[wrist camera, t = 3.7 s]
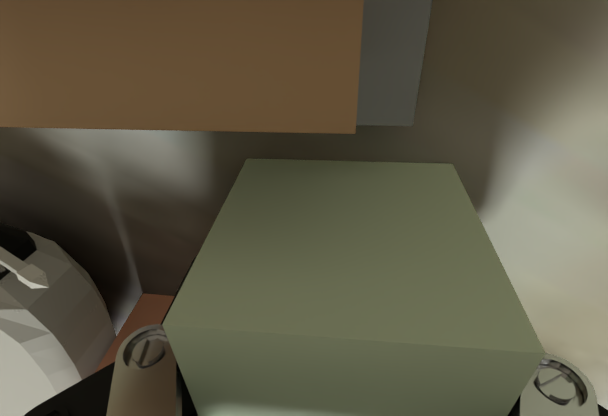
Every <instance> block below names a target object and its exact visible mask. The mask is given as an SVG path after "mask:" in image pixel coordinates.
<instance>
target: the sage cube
mask: <svg viewBox="0 0 608 416" xmlns="http://www.w3.org/2000/svg"><path fill="white" fill-rule="evenodd" d="M162 326H163V328H164V331H165V333H166V336H167V338H168V341H169V343H170V346H171V348H172V351H173V353H174V356H175V358H176V361H177V363H178V366H179V368H180V371H181V373H182V376H183V378H184V381H185V383H186V386H187V388H188V391H189V393H190V396H191V398H192V401H193V403H194V406H195V408H196V411H197V413H198V416H508V414H509V412H510V411H511V409H512V407H513V406H514V404H515V403H516V401H517V399H518V398H519V396H520V394H521V393H522V391H523V390H524V388H525V386H526V385H527V383H528V381H529V380H530V378H531V376H532V375H533V373H534V372H535V370H536V368H537V367H538V365H539V363H540V362H541V360H542V359H543V357H544V355H545V354H546V353H545V351H544V349H543V347H542V345H541V343H540V341H539V339H538V337H537V335H536V333H535V331H534V329H533V327H532V325H531V323H530V321H529V319H528V317H527V315H526V313H525V310H524V308H523V306H522V304H521V302H520V300H519V298H518V296H517V294H516V292H515V290H514V288H513V286H512V284H511V282H510V280H509V278H508V276H507V274H506V272H505V270H504V268H503V266H502V264H501V262H500V259H499V257H498V255H497V253H496V251H495V249H494V247H493V245H492V243H491V241H490V239H489V237H488V235H487V233H486V231H485V229H484V227H483V225H482V223H481V221H480V219H479V217H478V215H477V213H476V210H475V208H474V206H473V204H472V202H471V200H470V198H469V196H468V194H467V192H466V190H465V188H464V186H463V184H462V182H461V180H460V178H459V176H458V174H457V172H456V170H455V168H454V166H453V164H443V163H404V162H365V161H326V160H287V159H249V158H247V159H246V161H245V163H244V165H243V167H242V169H241V171H240V173H239V175H238V177H237V179H236V181H235V183H234V185H233V186H232V188H231V190H230V192H229V194H228V196H227V198H226V200H225V202H224V204H223V206H222V208H221V210H220V212H219V214H218V216H217V218H216V220H215V222H214V224H213V226H212V228H211V230H210V232H209V234H208V236H207V238H206V240H205V242H204V243H203V245H202V247H201V249H200V251H199V253H198V255H197V257H196V259H195V261H194V263H193V265H192V267H191V269H190V271H189V273H188V275H187V277H186V279H185V281H184V283H183V285H182V287H181V289H180V291H179V293H178V295H177V297H176V298H175V300H174V302H173V304H172V306H171V308H170V310H169V312H168V314H167V316H166V318H165V320H164V322H163V324H162Z"/></svg>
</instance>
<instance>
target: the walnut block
mask: <svg viewBox="0 0 608 416" xmlns="http://www.w3.org/2000/svg"><path fill="white" fill-rule="evenodd" d="M363 3H364V0H0V127H26V128H78V129H130V130H182V131H234V132H286V133H338V134H356V118H357V101H358V85H359V69H360V52H361V36H362V20H363Z"/></svg>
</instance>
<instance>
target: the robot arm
mask: <svg viewBox="0 0 608 416" xmlns="http://www.w3.org/2000/svg"><path fill="white" fill-rule="evenodd" d="M196 257H197V256H196ZM196 257H195V259H196ZM195 259H194V260H193V262H192V264H191V266H190V268H189V269H188V271H187V273H186V275H185V277H184V279H183V281H182V283H181V285H180V287H179V289H178V291H177V293H176V295H175V297H174V299H173V301H172V303H171V304H170V306H169V308H168V310H167V312H166V314H165V316H164V318H163V320H162V322H161V324H154V325H148V326H145V327H142V328H140V329H138V330H136V331H134V332H133V333H131V334H130V335H129V336H128V337H127V338H126V339H125V340H124V341H123V342H122V344H121V345H120V347H119V349H118V352H117V355H116V360H115V362H113V363H111V364H109V365H108V366H106V367H104V368H102V369H101V370H99V371H97V372H95V373H94V374H92V375H90V376H88V377H86V378H85V379H83V380H81V381H79V382H78V383H76V384H74V385H72V386H71V387H69V388H67V389H65V390H64V391H62V392H60V393H58V394H57V395H55V396H53V397H51V398H50V399H48V400H46V401H44V402H43V403H41V404H39V405H37V406H36V407H34V408H33V409H32V410H30V411H29V412H27V413H26V414H25V415H24V416H198V413H197V411H196V408H195V406H194V403H193V401H192V398H191V396H190V393H189V391H188V388H187V386H186V383H185V381H184V378H183V376H182V373H181V371H180V368H179V366H178V363H177V361H176V358H175V356H174V353H173V351H172V348H171V346H170V343H169V341H168V338H167V336H166V333H165V331H164V328H163V326H162V324H163V322H164V320H165V318H166V316H167V314H168V312H169V310H170V308H171V306H172V304H173V302H174V300H175V298H176V297H177V295H178V293H179V291H180V289H181V287H182V285H183V283H184V281H185V279H186V277H187V275H188V273H189V271H190V269H191V267H192V265H193V263H194V261H195ZM508 416H608V410H606V409H605V408H603V407H602V406H600V405H599V404H597V397H596V394H595V390H594V387H593V385H592V384H591V382H590V381H589V379H588V378H587V377H586V376H585V375H584V374H583V373H582V372H581V371H580V370H579V369H578V368H577V367H576V366H574V365H573V364H571V363H570V362H569V361H567V360H565V359H563V358H560V357H558V356H556V355H552V354H548V353H546V354H545V355H544V357H543V359H542V360H541V362H540V363H539V365H538V367H537V368H536V370H535V372H534V373H533V375H532V376H531V378H530V380H529V381H528V383H527V385H526V386H525V388H524V390H523V391H522V393H521V394H520V396H519V398H518V399H517V401H516V403H515V404H514V406H513V407H512V409H511V411H510V412H509V414H508Z"/></svg>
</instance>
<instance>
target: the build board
mask: <svg viewBox="0 0 608 416" xmlns="http://www.w3.org/2000/svg"><path fill="white" fill-rule="evenodd" d="M432 1H433V0H364V3H363V20H362V36H361V52H360V69H359V85H358V101H357V118H356V125H371V126H413V122H414V115H415V109H416V103H417V96H418V90H419V83H420V77H421V71H422V64H423V58H424V52H425V45H426V39H427V32H428V26H429V20H430V13H431V7H432Z"/></svg>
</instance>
